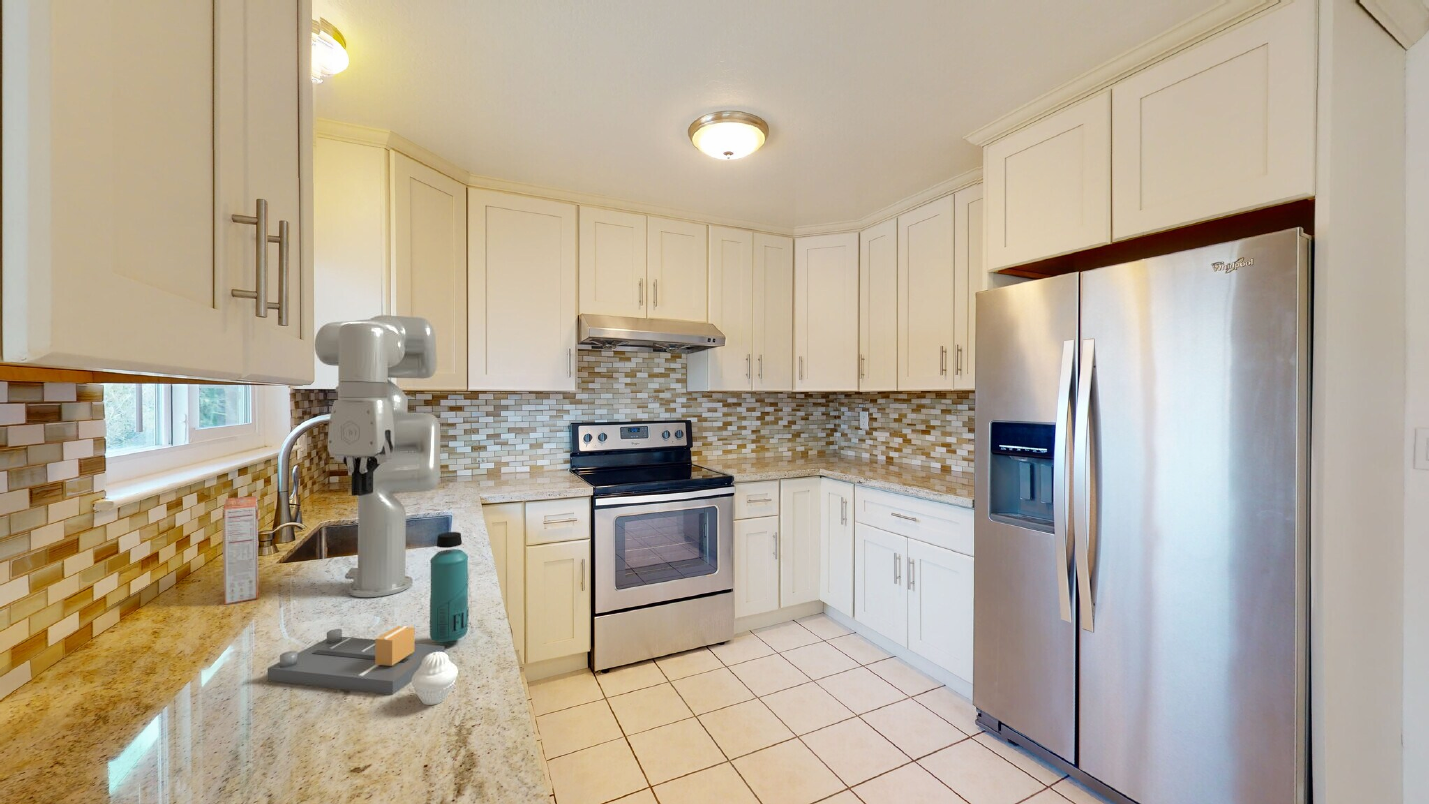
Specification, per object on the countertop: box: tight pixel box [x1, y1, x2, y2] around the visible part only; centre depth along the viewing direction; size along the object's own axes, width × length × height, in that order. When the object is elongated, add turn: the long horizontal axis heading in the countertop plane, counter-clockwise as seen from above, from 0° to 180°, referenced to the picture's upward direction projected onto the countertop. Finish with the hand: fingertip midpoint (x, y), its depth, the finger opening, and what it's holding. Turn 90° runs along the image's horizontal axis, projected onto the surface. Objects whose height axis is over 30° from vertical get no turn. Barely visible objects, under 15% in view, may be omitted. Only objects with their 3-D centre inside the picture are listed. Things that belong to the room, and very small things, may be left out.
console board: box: [266, 628, 445, 696], centre depth 90 cm, size 22×12×4 cm, turn 81°
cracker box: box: [222, 495, 259, 605], centre depth 123 cm, size 14×6×21 cm, turn 40°
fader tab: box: [374, 625, 416, 666], centre depth 89 cm, size 3×5×4 cm, turn 171°
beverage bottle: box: [428, 531, 470, 643], centre depth 100 cm, size 6×7×20 cm
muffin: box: [410, 651, 459, 706], centre depth 81 cm, size 6×6×7 cm
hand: (362, 494), depth 99 cm, fingers closed
